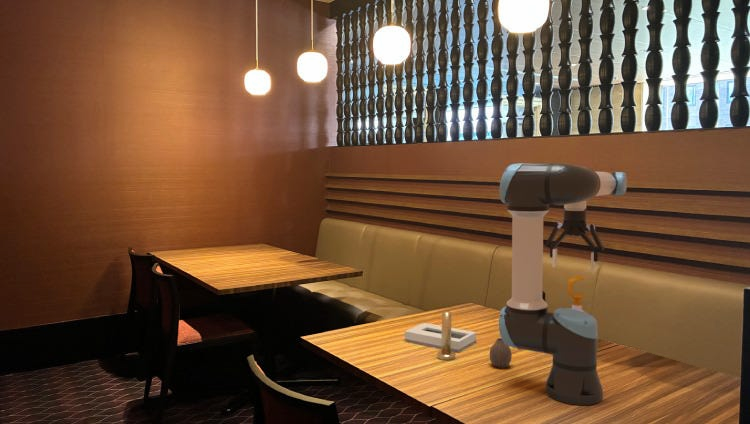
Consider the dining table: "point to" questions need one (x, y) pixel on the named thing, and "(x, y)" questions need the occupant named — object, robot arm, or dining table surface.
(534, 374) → the dining table surface
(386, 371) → the dining table surface
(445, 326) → the peg
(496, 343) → the vase
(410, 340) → the board
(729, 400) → the dining table surface
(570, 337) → the robot arm
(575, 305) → the soap bottle
